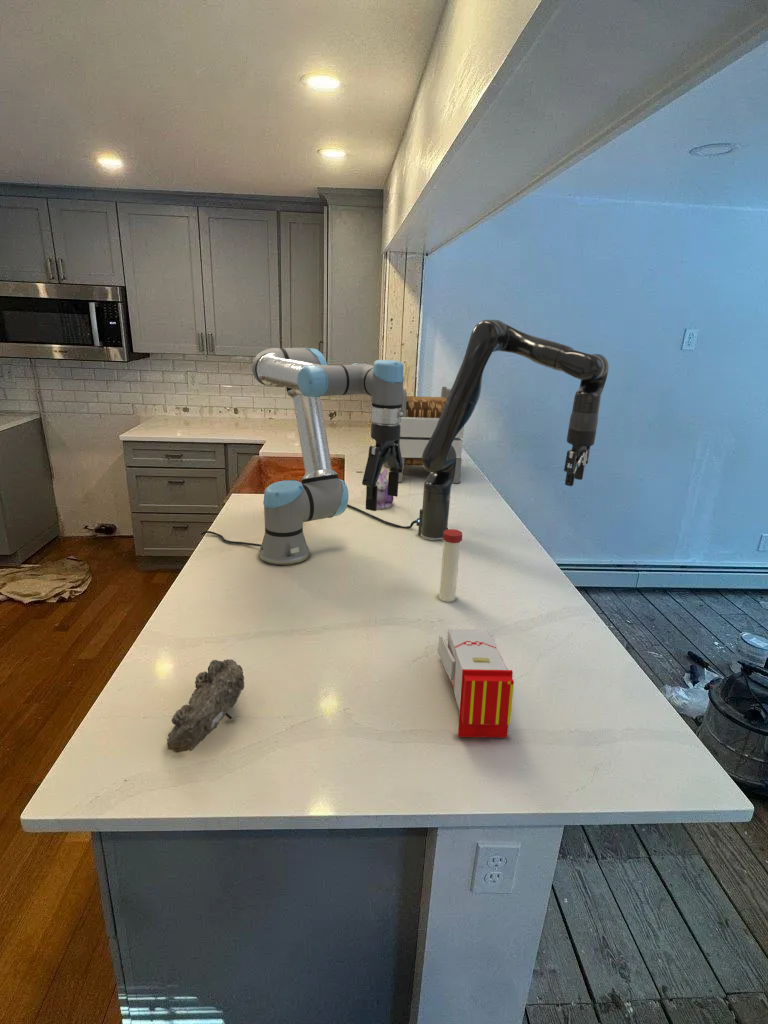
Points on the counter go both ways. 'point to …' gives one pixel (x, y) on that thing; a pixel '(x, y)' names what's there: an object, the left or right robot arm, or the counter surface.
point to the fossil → (206, 705)
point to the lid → (452, 536)
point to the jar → (449, 571)
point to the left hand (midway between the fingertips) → (382, 502)
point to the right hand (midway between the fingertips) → (573, 482)
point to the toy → (478, 682)
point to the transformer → (423, 429)
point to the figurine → (383, 492)
